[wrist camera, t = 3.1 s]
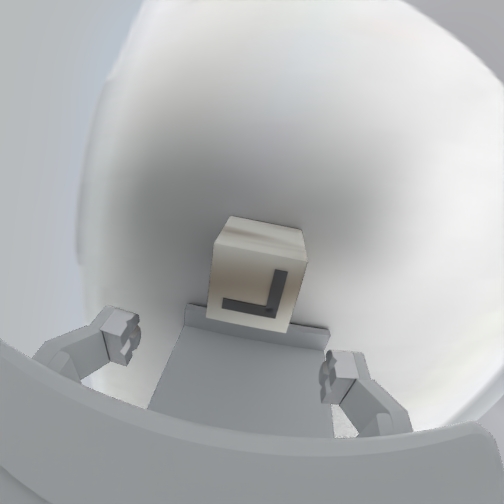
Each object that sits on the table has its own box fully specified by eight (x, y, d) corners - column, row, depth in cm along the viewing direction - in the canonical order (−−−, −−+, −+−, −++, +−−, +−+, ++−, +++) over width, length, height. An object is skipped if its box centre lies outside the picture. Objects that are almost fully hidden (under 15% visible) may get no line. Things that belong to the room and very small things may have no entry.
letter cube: (285, 290, 21) (285, 334, 16) (219, 277, 21) (203, 318, 16) (301, 229, 19) (308, 262, 14) (228, 215, 19) (211, 243, 14)
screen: (311, 368, 24) (318, 507, 11) (186, 345, 24) (134, 478, 12) (329, 329, 22) (351, 489, 9) (187, 303, 22) (117, 453, 9)
